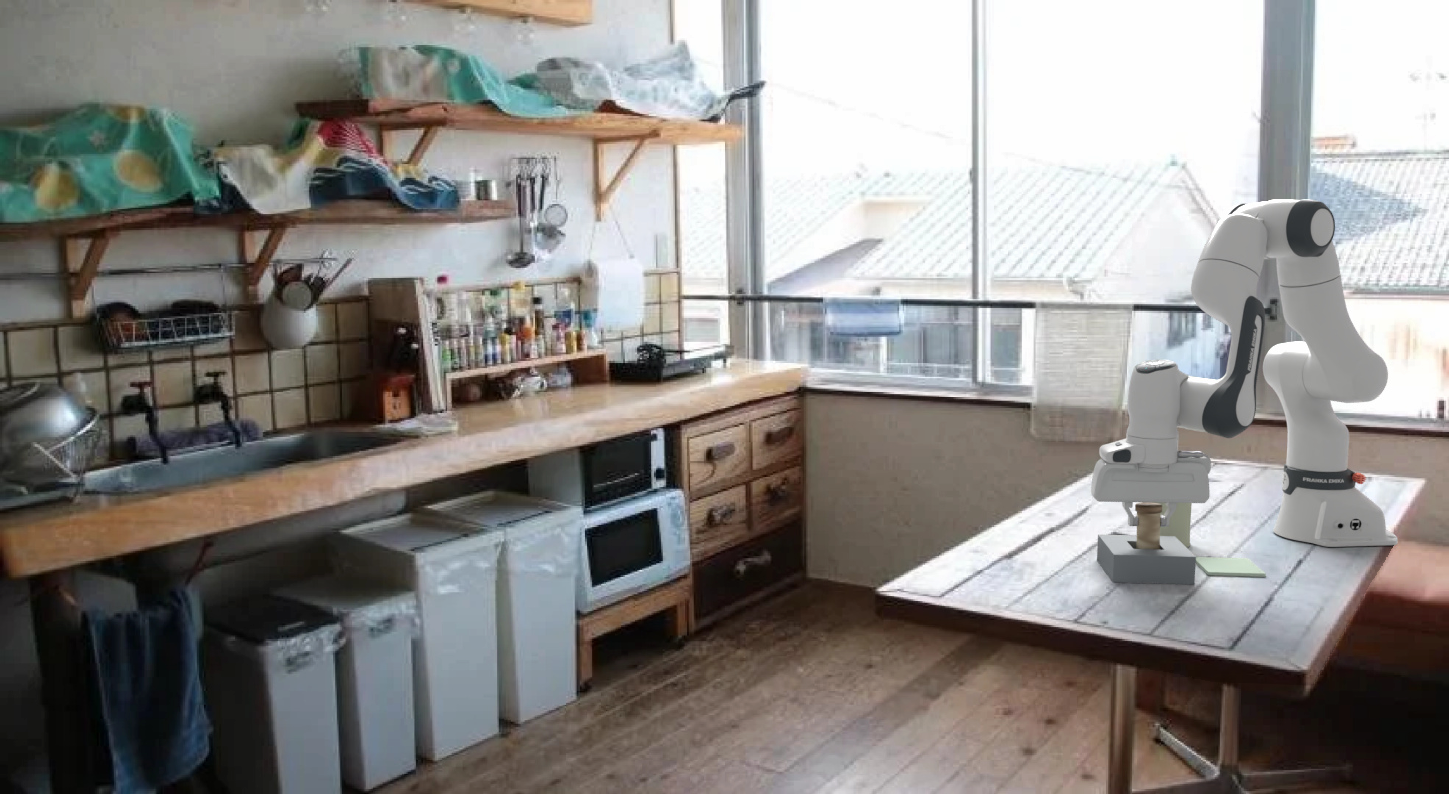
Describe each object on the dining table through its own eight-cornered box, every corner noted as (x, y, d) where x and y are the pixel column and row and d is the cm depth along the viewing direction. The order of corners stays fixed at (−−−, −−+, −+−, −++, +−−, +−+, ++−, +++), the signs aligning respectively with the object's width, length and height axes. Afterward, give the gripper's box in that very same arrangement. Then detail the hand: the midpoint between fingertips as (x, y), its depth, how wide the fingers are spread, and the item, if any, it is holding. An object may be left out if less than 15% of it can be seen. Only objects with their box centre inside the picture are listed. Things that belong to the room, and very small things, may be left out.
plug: (1157, 565, 224) (1158, 502, 223) (1164, 573, 220) (1165, 508, 218) (1131, 566, 225) (1132, 502, 223) (1137, 573, 220) (1138, 508, 218)
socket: (1173, 562, 228) (1174, 536, 228) (1194, 584, 215) (1196, 556, 214) (1096, 560, 230) (1098, 534, 229) (1112, 582, 216) (1114, 554, 215)
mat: (1247, 561, 229) (1247, 558, 229) (1265, 576, 219) (1265, 573, 219) (1192, 560, 230) (1192, 556, 230) (1208, 575, 220) (1208, 572, 220)
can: (1189, 539, 245) (1192, 480, 243) (1191, 551, 236) (1194, 490, 234) (1141, 535, 248) (1143, 477, 246) (1140, 547, 239) (1143, 487, 237)
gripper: (1206, 448, 221) (1202, 522, 223) (1090, 446, 223) (1087, 520, 225) (1216, 454, 215) (1212, 531, 217) (1097, 453, 217) (1094, 529, 219)
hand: (1148, 525), depth 221 cm, fingers closed on plug, 4 cm apart
